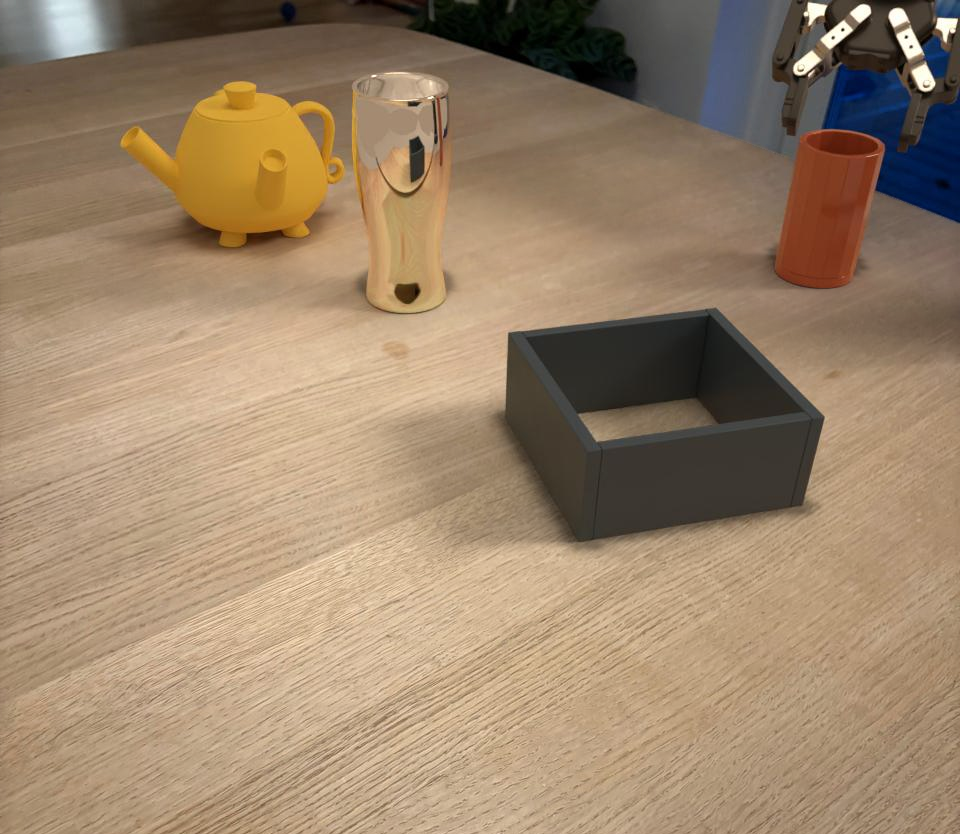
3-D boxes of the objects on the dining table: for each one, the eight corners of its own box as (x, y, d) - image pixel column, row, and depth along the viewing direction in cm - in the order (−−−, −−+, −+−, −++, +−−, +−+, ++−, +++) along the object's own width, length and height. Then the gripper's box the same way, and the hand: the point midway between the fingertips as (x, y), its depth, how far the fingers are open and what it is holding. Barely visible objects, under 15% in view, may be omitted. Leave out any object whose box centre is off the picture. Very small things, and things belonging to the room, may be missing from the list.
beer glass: (374, 272, 89) (365, 66, 79) (460, 281, 88) (461, 74, 78) (349, 311, 84) (335, 96, 74) (440, 321, 83) (438, 104, 73)
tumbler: (835, 254, 93) (865, 128, 86) (865, 286, 88) (898, 155, 82) (763, 257, 92) (787, 130, 86) (789, 290, 88) (817, 158, 81)
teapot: (133, 243, 92) (106, 98, 85) (219, 187, 102) (201, 53, 94) (289, 273, 89) (275, 125, 81) (363, 212, 98) (357, 75, 91)
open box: (700, 403, 74) (716, 307, 70) (799, 520, 65) (825, 416, 60) (504, 431, 71) (507, 332, 67) (577, 557, 62) (587, 451, 57)
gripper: (812, -103, 86) (754, 99, 85) (1008, -86, 82) (949, 126, 81) (808, -36, 93) (755, 150, 92) (989, -18, 89) (934, 176, 89)
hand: (846, 138), depth 87 cm, fingers open, 8 cm apart
